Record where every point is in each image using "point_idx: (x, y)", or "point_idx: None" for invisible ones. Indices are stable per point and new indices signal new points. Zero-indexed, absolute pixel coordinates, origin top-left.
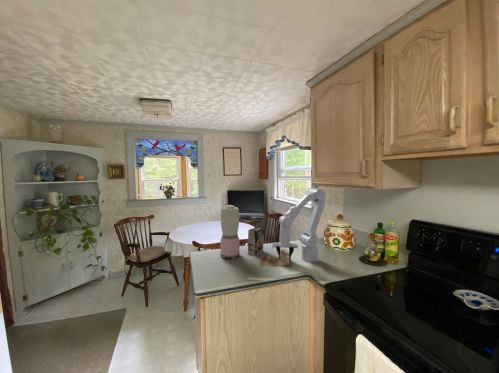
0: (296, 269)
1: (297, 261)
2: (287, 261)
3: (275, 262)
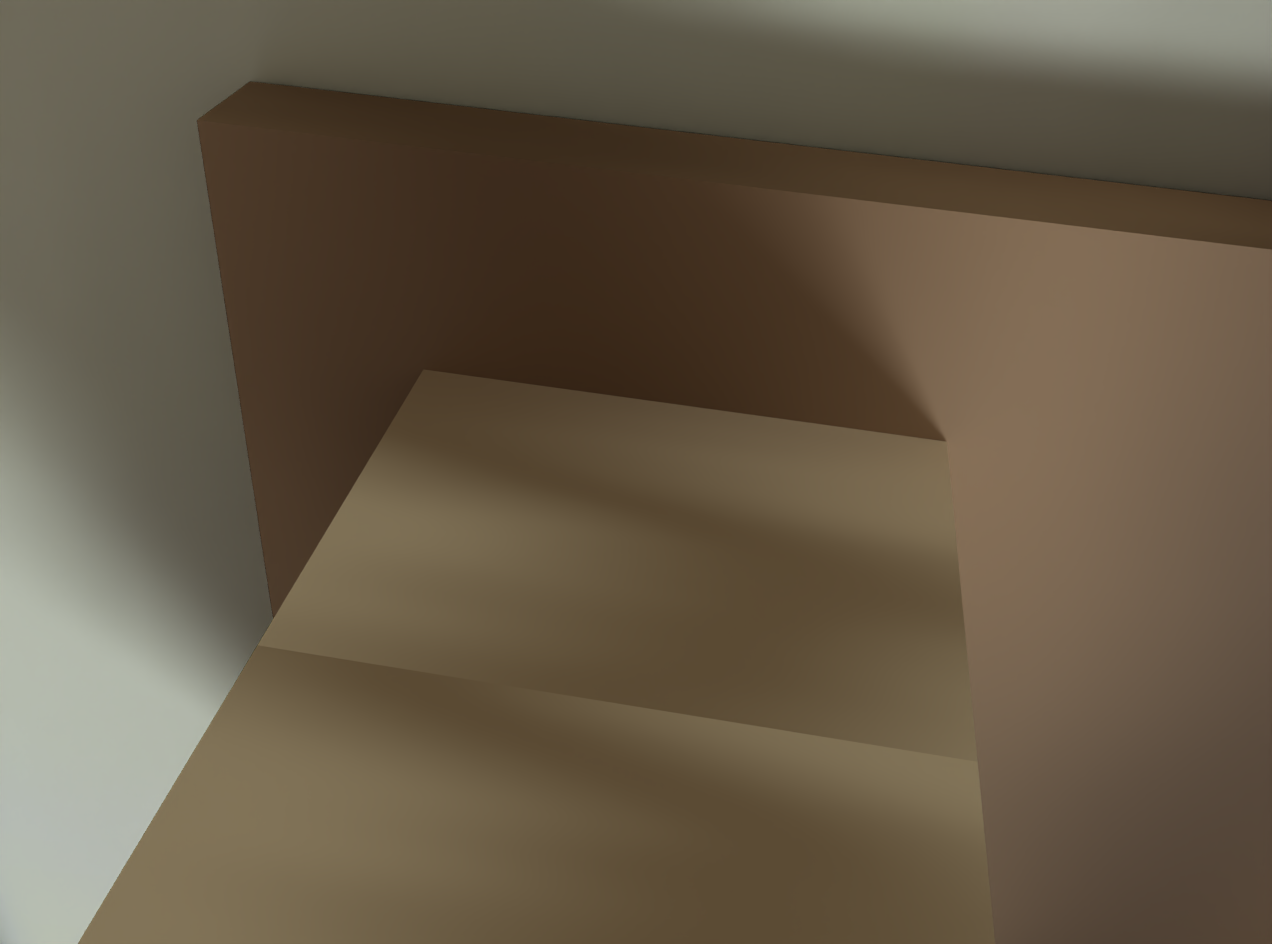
0: (9, 5)
1: (81, 802)
2: (456, 540)
3: (1203, 747)
